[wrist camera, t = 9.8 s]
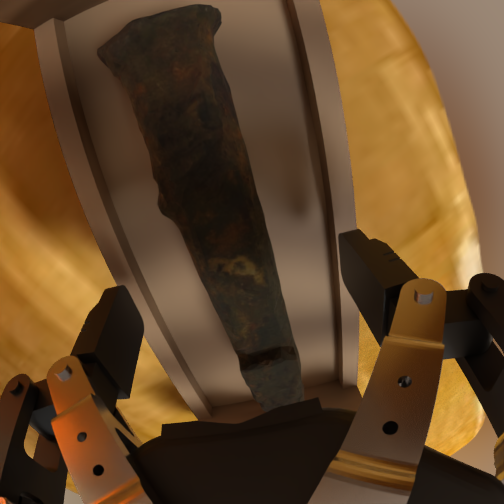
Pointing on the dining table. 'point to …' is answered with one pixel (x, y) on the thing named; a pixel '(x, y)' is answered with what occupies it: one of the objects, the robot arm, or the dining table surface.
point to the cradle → (264, 172)
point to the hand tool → (209, 186)
